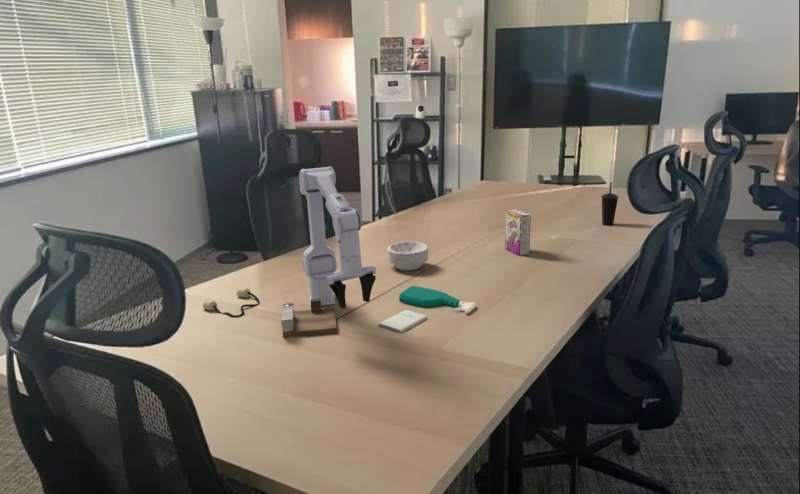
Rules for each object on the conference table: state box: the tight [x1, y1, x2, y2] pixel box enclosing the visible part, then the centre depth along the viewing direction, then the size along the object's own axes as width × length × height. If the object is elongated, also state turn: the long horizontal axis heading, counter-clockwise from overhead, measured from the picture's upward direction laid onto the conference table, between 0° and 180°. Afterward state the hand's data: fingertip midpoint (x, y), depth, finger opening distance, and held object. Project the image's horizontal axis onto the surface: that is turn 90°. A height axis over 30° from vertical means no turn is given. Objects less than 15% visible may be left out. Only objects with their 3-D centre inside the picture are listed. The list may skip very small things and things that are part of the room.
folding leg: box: [281, 302, 295, 333], centre depth 162 cm, size 12×3×4 cm, turn 9°
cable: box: [202, 287, 261, 318], centre depth 180 cm, size 16×16×4 cm
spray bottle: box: [398, 285, 476, 315], centre depth 177 cm, size 3×11×24 cm
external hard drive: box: [378, 309, 428, 334], centre depth 164 cm, size 2×8×12 cm
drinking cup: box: [600, 181, 619, 227], centre depth 262 cm, size 8×8×20 cm
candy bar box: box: [504, 208, 532, 257], centre depth 225 cm, size 11×5×16 cm, turn 22°
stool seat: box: [282, 298, 338, 339], centre depth 164 cm, size 15×15×5 cm
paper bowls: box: [387, 241, 429, 271], centre depth 212 cm, size 15×15×8 cm
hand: (354, 304), depth 153 cm, fingers open, 7 cm apart
